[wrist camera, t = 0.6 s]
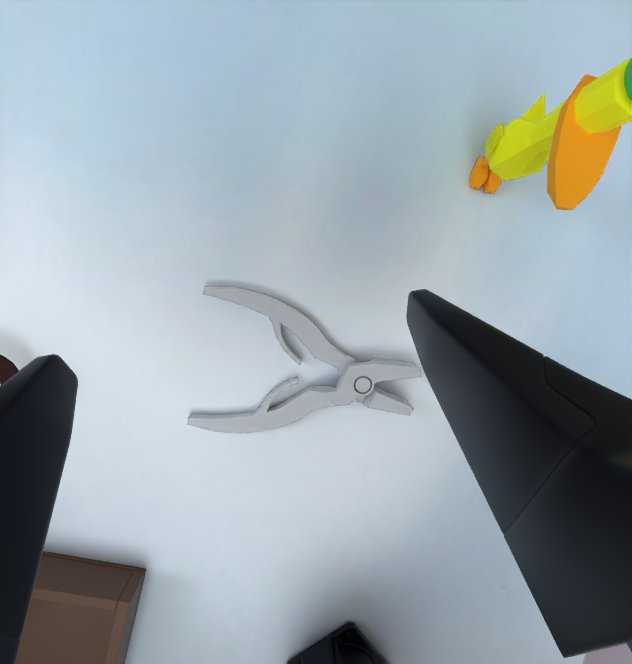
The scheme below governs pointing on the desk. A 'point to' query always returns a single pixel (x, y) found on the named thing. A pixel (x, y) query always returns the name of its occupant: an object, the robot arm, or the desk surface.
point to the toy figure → (562, 139)
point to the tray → (80, 612)
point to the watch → (6, 369)
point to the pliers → (351, 385)
